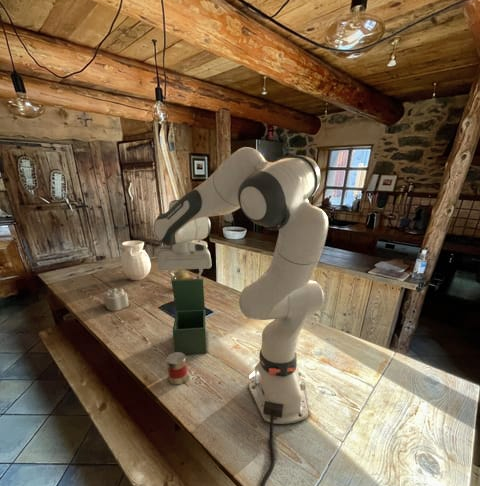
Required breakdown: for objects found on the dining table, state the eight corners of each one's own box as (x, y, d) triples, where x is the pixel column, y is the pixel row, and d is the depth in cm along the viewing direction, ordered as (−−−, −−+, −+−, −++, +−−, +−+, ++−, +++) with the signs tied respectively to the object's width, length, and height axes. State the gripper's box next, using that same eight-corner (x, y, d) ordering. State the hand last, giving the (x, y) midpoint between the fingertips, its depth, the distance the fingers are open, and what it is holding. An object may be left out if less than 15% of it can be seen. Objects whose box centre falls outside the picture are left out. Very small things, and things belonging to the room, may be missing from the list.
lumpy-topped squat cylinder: (113, 312, 140) (109, 297, 137) (101, 304, 148) (98, 290, 144) (131, 305, 148) (128, 291, 144) (119, 298, 155) (117, 284, 152)
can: (186, 383, 93) (184, 363, 90) (168, 385, 93) (165, 364, 89) (187, 371, 99) (186, 351, 96) (170, 372, 99) (167, 352, 95)
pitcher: (147, 283, 177) (141, 246, 167) (119, 282, 177) (112, 246, 167) (155, 273, 194) (151, 239, 184) (130, 273, 194) (124, 239, 184)
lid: (203, 279, 108) (202, 272, 111) (171, 281, 106) (172, 274, 110) (204, 309, 118) (204, 302, 122) (176, 311, 117) (176, 303, 120)
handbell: (182, 287, 175) (195, 309, 157) (167, 281, 167) (179, 303, 149) (192, 273, 173) (207, 293, 155) (177, 266, 165) (191, 286, 147)
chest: (206, 352, 109) (205, 328, 104) (175, 355, 108) (172, 330, 103) (206, 332, 123) (204, 309, 118) (178, 333, 122) (176, 311, 117)
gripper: (153, 247, 95) (158, 283, 100) (210, 246, 97) (212, 281, 103) (156, 243, 101) (160, 277, 106) (210, 242, 103) (212, 275, 108)
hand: (186, 279), depth 104 cm, fingers open, 8 cm apart
